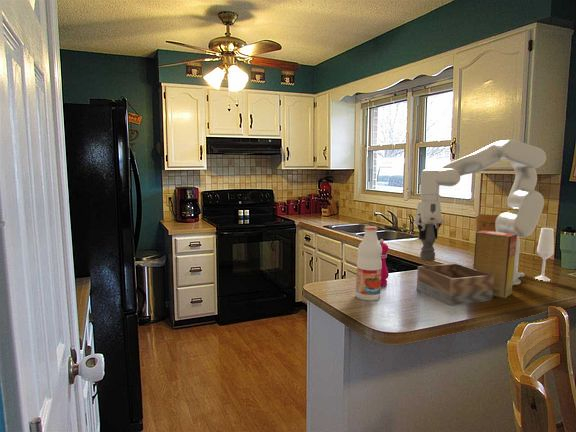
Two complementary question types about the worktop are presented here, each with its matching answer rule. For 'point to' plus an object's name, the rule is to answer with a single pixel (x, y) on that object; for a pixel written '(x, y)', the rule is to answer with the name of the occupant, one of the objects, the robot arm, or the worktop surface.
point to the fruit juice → (369, 266)
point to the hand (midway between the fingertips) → (428, 238)
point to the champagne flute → (545, 249)
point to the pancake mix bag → (486, 222)
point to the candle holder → (428, 240)
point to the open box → (455, 283)
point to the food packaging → (496, 259)
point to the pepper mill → (384, 263)
